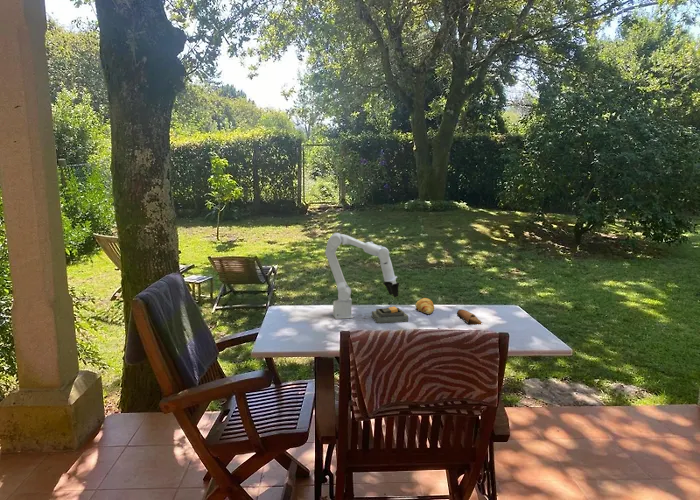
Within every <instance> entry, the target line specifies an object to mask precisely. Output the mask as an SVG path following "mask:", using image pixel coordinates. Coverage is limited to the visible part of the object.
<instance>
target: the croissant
mask: <svg viewBox="0 0 700 500" xmlns="http://www.w3.org/2000/svg"><path fill="white" fill-rule="evenodd" d="M415 308H416V310H417V311H419V312H421V313H423V314H427V315H430V314H432V313H433V312H434V311H435V305H434V303H433V301H432V299H430V298H428V297H423V298H419V300H417V301H416V303H415Z"/></svg>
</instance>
